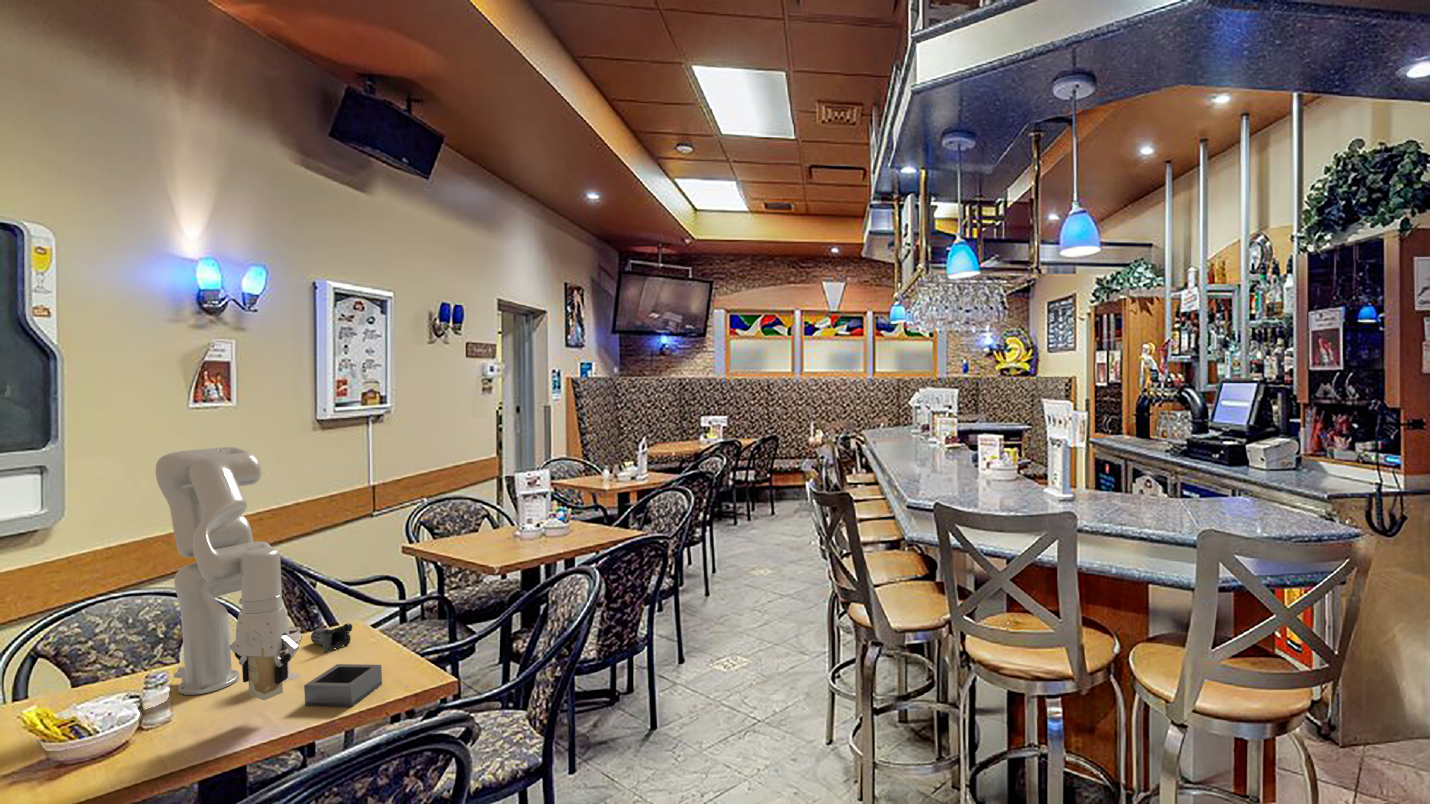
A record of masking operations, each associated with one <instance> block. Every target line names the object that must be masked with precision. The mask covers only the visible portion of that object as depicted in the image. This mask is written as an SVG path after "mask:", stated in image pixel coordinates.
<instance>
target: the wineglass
mask: <svg viewBox="0 0 1430 804" xmlns="http://www.w3.org/2000/svg"><path fill="white" fill-rule="evenodd" d="M288 627H289V637H290V639H291V640H292V641H293V642H294V643H295V644H297V645H298V646H299V645H300V644H301V642H302V637H303V635H302V633H301V630H302V628H301V627H300V626H291V627H290V626H288ZM286 651H287V652H288V649H286ZM300 675H301V673H299V672H292V673H290V661H289V662H288V678H287V679H286V680H284V681H283V682H289V681H293V680H295V679H297V678H299V677H300Z"/></svg>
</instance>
